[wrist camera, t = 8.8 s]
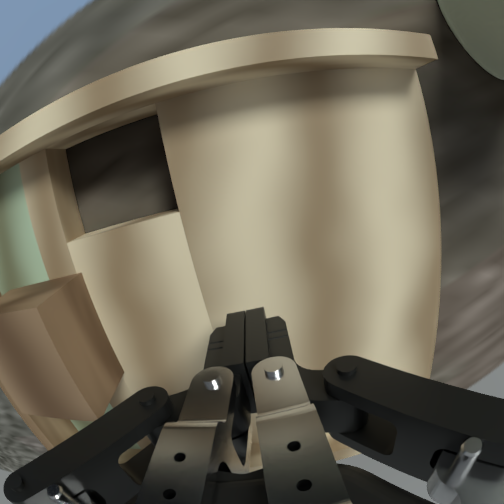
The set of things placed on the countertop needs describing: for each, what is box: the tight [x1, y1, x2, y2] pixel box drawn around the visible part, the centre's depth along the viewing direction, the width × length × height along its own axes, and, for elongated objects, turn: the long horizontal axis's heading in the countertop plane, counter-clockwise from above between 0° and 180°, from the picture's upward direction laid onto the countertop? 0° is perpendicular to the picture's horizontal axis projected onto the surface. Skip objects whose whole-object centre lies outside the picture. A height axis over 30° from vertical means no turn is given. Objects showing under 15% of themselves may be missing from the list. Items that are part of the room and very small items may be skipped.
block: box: [0, 272, 124, 422], centre depth 12 cm, size 6×6×4 cm
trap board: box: [0, 28, 441, 473], centre depth 13 cm, size 26×22×5 cm
